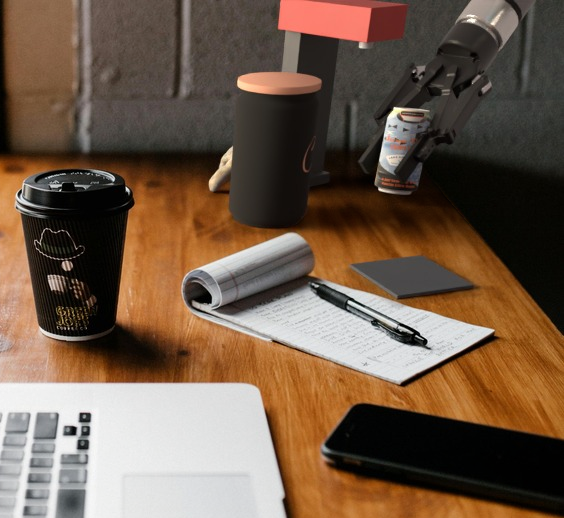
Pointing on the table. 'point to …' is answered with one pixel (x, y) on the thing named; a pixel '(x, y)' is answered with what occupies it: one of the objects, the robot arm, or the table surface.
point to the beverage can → (400, 148)
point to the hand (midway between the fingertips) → (381, 172)
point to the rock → (222, 172)
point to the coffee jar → (273, 148)
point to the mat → (410, 276)
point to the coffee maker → (332, 47)
